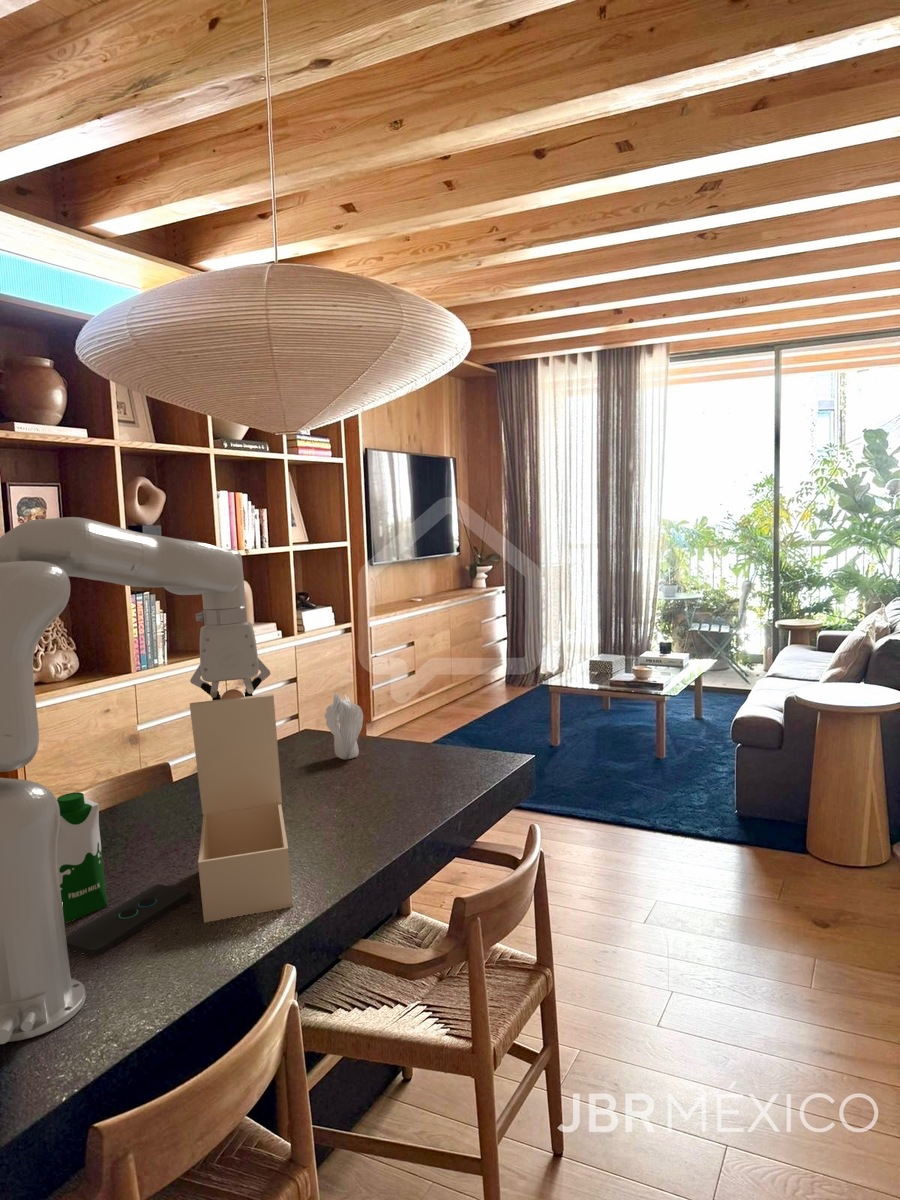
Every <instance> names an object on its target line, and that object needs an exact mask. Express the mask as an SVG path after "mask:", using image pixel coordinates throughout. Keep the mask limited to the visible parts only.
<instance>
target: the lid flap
mask: <svg viewBox="0 0 900 1200" xmlns="http://www.w3.org/2000/svg"><path fill="white" fill-rule="evenodd" d="M189 710H190V719H191V728H192V736H193V737H192V738H193V745H194V746H193V747H194V754H195V760H196V761H195V763H196V770H197V778H198V779H197V780H198V788H199V795H200V804H201V812H202V815H204V814H210V813H217V812H224V811H231V810H238V809H245V808H252V807H259V806H266V805H272V804H279V803H281V804H282V803H283V800H282V799H283V796H282V786H281V773H280V762H279V761H280V760H279V758H280V757H279V747H278V737H277V736H278V734H277V721H276V709H275V697H274V693H270V694H269V693H268V694H257V695H253V696H248V697H245V694H244V693H243V692H242V691H241V690H239V689H236V688H235V689H234V688H233V689H228V690H226V691H225V692H223V694H222V695H221V700H204V701H197V702H196V701H195V702H190V703H189Z"/></svg>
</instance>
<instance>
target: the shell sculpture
mask: <svg viewBox="0 0 900 1200" xmlns="http://www.w3.org/2000/svg"><path fill="white" fill-rule="evenodd" d="M344 697H345V698H344ZM332 700H333V702H332V703H331V704H330V705H328V706H327V707H326V709H325V711H326V712H325V714H324V719H325V720H326V721H325V725H326V727H327V728H328V729H329V731H330V733H331V734H332V735H333V740H334V741H333V742H334V744H333V746H334V754H335V755H336V757H337V758H339V759H340V760H341V759H342V760H350V759H354V758H356V757H358V755H359V754H360V753H359V752H360V751H359V745H358V742H357V741H358V738H359V736H360V734H361V731H362V728H363V724H364V723H363V721H364V713H363V710H362V709H363V708H362V707H361V706H360V705H358V704H357V703H354V702H351V700H350V696H349V695H346V693H345V692H344V694H343V695H342V697H341V695H339V693H334V695H333V699H332Z"/></svg>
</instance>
